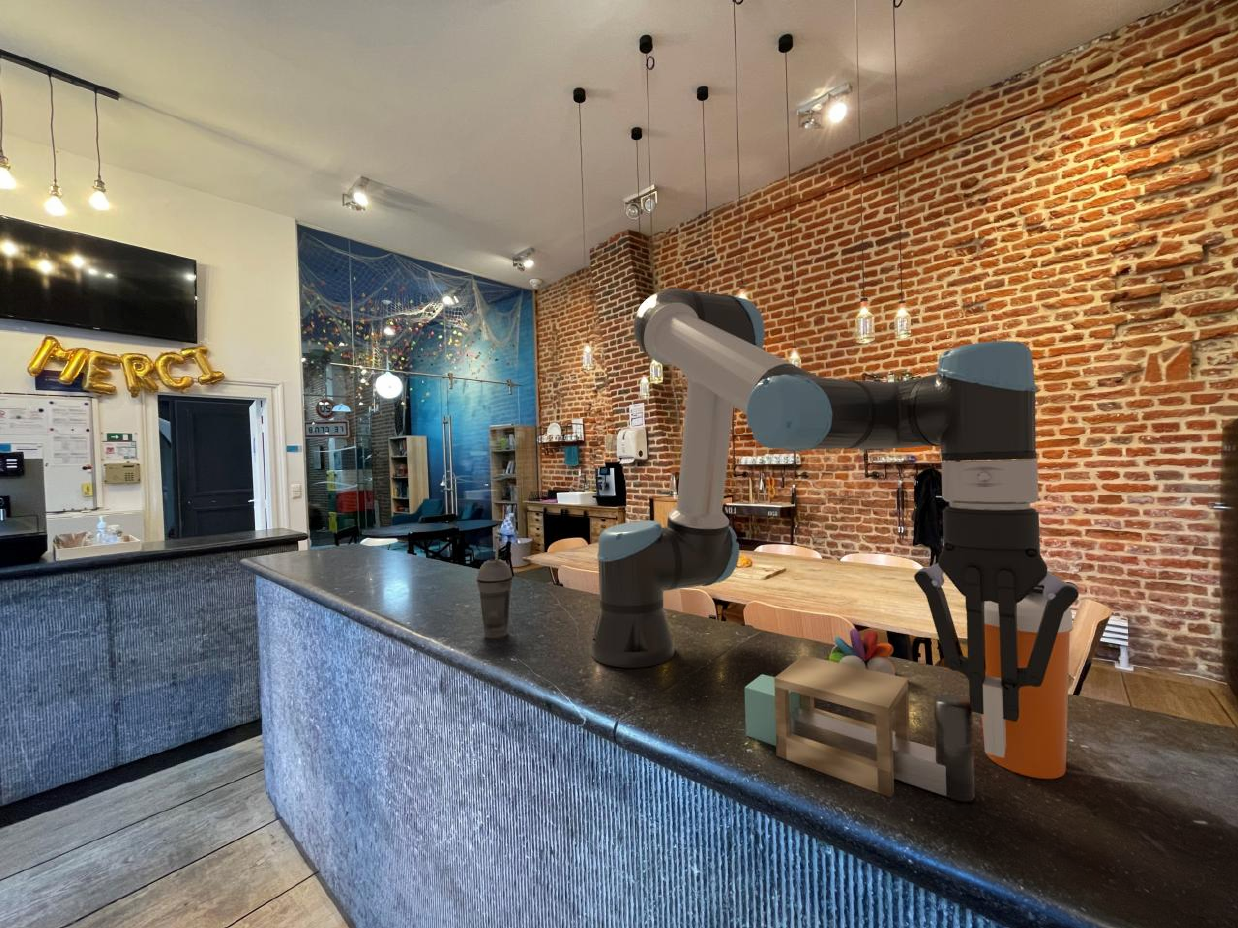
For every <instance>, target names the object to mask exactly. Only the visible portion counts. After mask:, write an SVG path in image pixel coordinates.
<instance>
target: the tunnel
mask: <svg viewBox="0 0 1238 928" xmlns="http://www.w3.org/2000/svg"><path fill="white" fill-rule="evenodd" d="M774 677H775V678H774V684H775V719H776V746H775V749H776V751H775V752H776V753H775V754H776V756H777V757H779V758H782V759H784V760H787V761H789V762H793V763H795V764H798V765H801V766H804V767H806V768H809V769H812V770H814V771H818V772H820V773H823V774H825V775H828V776H831V777H833V778H836V779H839V780H842V781H845V782H847V783H850V784H853V785H855V786H859V787H861V788H864V789H867V790H869V791H873V792H876V793H878V794H880V795H882V796H883V795H884V796H886V797H887V798H892V797H893V795H894V793H895V784H894V782H895V781H894V774H893V739H892V736H895V737H898V738H902V739H905V740H909V741H911V739H910V738H911V737H910V735H911V733H910V703H909V678H908V677H903V676H898V675H896V674H895V675H891V674H886V673H882V672H877V671H873V670H868V669H864V668H859V667H855V666H850V665H846V664H841V663H837V662H832V661H829V659H828V660H827V659H824V658H823V659H822V658H818V657H813V656H809V655H806V654H802V656H800V657H799V658H797V659H796V660H795V661H794V662H793V663H791V664H790V665H788V667H786V668H785V669H784V670H782V671H781V672H780V673H778V674H777V675H776V676H774ZM789 691H793V692H796V693H800V709H803V710H806V711H810V712H813V713H816V714H820V715H823V716H827V717H830V718H834V719H837V720H840V721H844V722H847V723H851V724H854V725H857V726H861V727H864V728H868V729H871V730H874V731H876V737H877V762H876V761H873V760H870V759H867V758H864V757H861V756H858V755H855V754H852V753H849V752H846V751H843V750H840V749H837V748H834V747H831V746H828V745H825V744H822V743H819V742H816V741H813V740H810V739H806V738H803V737H800V736H797V735H794V734H791V733H790V711H789ZM814 699H819V700H823V701H825V702H830V703H833V704H837V705H841V706H843V707H848V708H851V709H854V710H855V709H856V710H858V711H863V712H866V713H870V714H873V715H875V725H874V724H872V723H868V722H865V721H861V720H857V719H854V718H851V717H846V716H843V715H840V714H837V713H832V712H829V711H825V710H823V709H819V708H815V700H814ZM893 712H894V728H895V729H894V730H893V715H892V714H893Z"/></svg>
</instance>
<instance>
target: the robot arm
mask: <svg viewBox="0 0 1238 928" xmlns="http://www.w3.org/2000/svg"><path fill="white" fill-rule="evenodd" d="M765 330H766V329H765V323H764V319H763V316H762V314H761V311H760V310H758V307H757V306H756V304H755V303H753V302H752V301H751V300H749V299H748V298H747V299H746V298H742V297H737V296H735V295H733V294H725V293H724V294H722V293H714V292H713V293H712V292H705V291H697V290H689V289H684V288H669V289H664V290H660V291H658V292H655V293H653V294H651V295H650V296H649V297H648V298H647V299H645V301H643V303H641V305H640V306H639V308H638V310H637V311H636V315H635V316H634V322H633V333H634V339H635V341H636V343H637V345H638V348H640V350H641V351H642V352H643V353H644V354H645V355H647V356H648V357H649V358H650V359H652V360H653V361H655V362H656V363H658V364H661V365H666V366H671V365H672V366H674V367H675V368H677V369H679V371H680V372H681V373H682V374H683V376H684V377H685V378H686V380H687V386H686V387H687V389H686V399H685V401H686V402H685V411H684V412H685V413H684V422H683V431H682V432H683V435H682V445H681V453H680V455H681V457H680V464H679V465H680V466H679V467H680V468H679V477H678V478H679V479H678V487H677V488H678V489H677V490H678V491H677V499H676V506H675V507H674V508H673V509H672V510H670V511H669V512H668V515H667V521H666V522H667V523H666V527H663V526H662V525H661V523H660V522H659V521H656V520H640V521H639V520H638V521H631V522H630V521H629V522H625V523H620V524H617V525H612V526H610V527H607V528H606V529H604V530H603V531H602V532H601V533H600V535H599V537H598V552H597V560H598V562H597V563H598V585H599V586H598V587H599V589H598V590H599V613H598V617H597V620H596V622H595V623H596V624H595V628H594V632H593V633H594V634H593V635H592V638H591V643H590V649H591V650H590V651H591V652H590V653H591V657H592V658H593V659H594V660H595V661H597V662H598V663H601V664H603V665H606V666H610V667H617V668H624V669H625V668H627V669H628V668H632V669H636V668H637V669H638V668H646V667H651V666H657V665H660V664H663V663H665V662H667V661H669V660H670V659H672V658H673V656H675V655H674V654H675V638H674V636H673V634H672V632H671V628H670V625H669V622H668V619H667V616H666V612H665V607H664V591H672V590H680V589H687V588H693V587H701V586H702V587H707V586H711V585H714V584H717V583H723V582H724V581H726V580H727V579H729V578H730V577H731V576H732V575H733V573H734V572H735V570H736V568H737V566H738V563H739V558H740V544H739V542H738V541H737V539H738V536H737V534H736V532H735V530H734V529H733V528H732V526H730V519H729V518H728V517H727V516H726V515H725V513H724V512H723V507H724V499H725V498H724V497H725V489H726V479H727V468H728V460H729V452H730V441H731V433H732V425H733V424H732V423H733V417H734V416H733V415H734V408H736V409H737V410H739V411H741V412H742V413H744V414H745V415H746V417H745V418H746V423H747V427H748V429H750V430H751V432H752V437H753V438H754V440H755V441H756V442H757V443H758V444H759V445H761V446H762V447H763V446H764V447H765V448H768V449H775V450H784V451H788V452H803V451H807V450H838V449H839V450H842V449H843V450H850V449H851V450H864V451H865V450H866V451H874V450H876V451H883V450H887V449H903V448H905V449H907V448H918V447H919V448H920V447H940V454H941V457H940V458H941V490H942V491H941V493H942V495H941V497H942V500H944V501H945V502H947V503H948V502H949V504H948V506H945V507H944V509H942V526H943V527H942V529H943V530H942V531H943V547H942V551H941V553H940V554H939V556H938V560H937V563H934V564H933V565H931V566H929V567H927V568H926V567H923V568H920V569H919V570H918V571H917V572H916V573H915V574H914V576H913V578H914V579H913V580H914V581H915V583H916V584H917V585H918V587H919V589H921V591H922V592H923V593H924V594H925V596H926V600H927V603H928V607H929V611H930V614H931V618H932V619H933V623H934V627H935V629H936V631H935V632H936V633H937V636H938V640H939V644H940V647H941V650H942V651H941V652H942V654H943V657H944V660H945V664H946V666H947V668H948V669H949V670H951V671H954V672H958V673H961V674H962V675H964V676H965V677H966V678H967V680H968V683H969V684H968V687H969V688H968V690H969V692H968V693H969V702H970V708H971V710H972V713H977V714H979V715H982V714H984V734H983V743H985V746H984V753H985V754H986V753H988V754H992V755H995V756H999V757H1002V758H1004V754H1005V748H1006V730H1005V720H1009V721H1013V722H1017V720H1018V718H1019V712H1020V711H1019V689H1020V688H1021V687H1023V686H1033V687H1039V686H1041V685H1042V682H1043V679H1044V676H1045V673H1046V669H1047V666H1048V663H1049V660H1050V656H1051V653H1052V650H1053V646H1054V643H1055V640H1056V637H1057V633H1058V630H1059V627H1060V624H1061V620H1062V617H1063V614H1064V612H1065V611H1066V610H1067V609H1068V608H1069V609H1070V607H1071V606H1072V605H1073V604H1074V603H1075V602H1076V601H1077V600H1078V598H1079V589H1078V586H1077V585H1076V584H1075V583H1073V582H1072V581H1071V582H1070V581H1064V580H1063V579H1061V578H1059V577H1058V576H1056V575H1054V574H1053V573H1051V572H1049V571H1048V565H1047V563H1046V562H1045V560H1044V559H1043V557H1042V555H1041V548H1040V547H1041V545H1040V543H1041V541H1040V540H1041V539H1040V515H1039V514H1040V512H1039V511H1037V509H1035V508H1033V507H1031V504H1035V503H1036V502H1037V501H1039V473H1038V471H1039V470H1038V469H1039V468H1038V459H1037V458H1038V457H1037V449H1036V448H1037V447H1036V443H1037V442H1036V437H1037V435H1036V392H1038V386H1037V385H1036V380H1035V370H1034V364H1033V363H1034V361H1033V354H1032V351H1031V348H1030V347H1029V346H1027V345H1026V344H1024V343H1022V342H1020V341H1013V340H996V341H985V342H983V341H982V342H977V343H970V344H964V345H960V346H957V347H954V348H952V349H948V350H946V351H943V352H942V353H941V354H940V356H939V358H938V364H937V368H936V373H934V374H932V375H931V374H930V375H928V376H925V377H918V378H911V379H906V380H900V381H874V380H857V379H854V380H853V379H847V378H845V379H843V378H842V379H841V378H830V377H824V376H823V377H822V376H818V375H817V374H814V373H813V372H809V371H808V370H806V369H804V368H802V367H799V366H797V365H795V364H794V363H791V362H790V361H789V360H786V359H783V358H782V357H779V356H777V355H775V354H773V353H771V352H769V351H767V350H765V349H763V348H764V343H765V339H766V338H765V332H766V331H765ZM944 574H945V576H946V577H947V578H948V579H949V580H950V582H951V583H952V584H953V586H954V587H955V588H956V590H958V591H959V593H960V594H961V595H962V596H964V597H965V609H966V610H965V611H966V634H967V635H966V639H967V641H966V643H967V657H966V656H964V654H963V649H962V647H961V643H960V640H959V637H958V633H957V630H956V627H955V624H954V620H953V618H952V614H951V610H950V608H949V604H948V601H947V597H946V594H945V591H944V589H943V585H944V583H945V578H944ZM1039 583H1043V585H1044V590H1043V596H1044V597H1045V598H1046V599H1047V600H1048V601H1047V603H1046V606H1045V609H1044V612H1043V616H1042V619H1041V622H1040V626H1039V629H1038V632H1037V636H1036V639H1035V642H1034V646H1033V649H1032V652H1031V656H1030V659H1029V662H1028V666H1027V667H1025V668H1019V667H1018V635H1017V603H1019V602H1021V601H1022V600H1023V599H1024V598H1025V597H1026V596H1027V595H1028V594H1029V593H1030V592H1031V591H1032V590H1033V589H1034V588H1035V587H1036V586H1037V585H1038V584H1039ZM986 601H991V602H994V603H997V604H998V607H999V624H1000V656H1001V678H997V677H992V676H987V675H986V676H985V671H986V657H985V619H984V604H985V602H986Z"/></svg>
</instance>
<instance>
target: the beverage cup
mask: <svg viewBox="0 0 1238 928" xmlns="http://www.w3.org/2000/svg"><path fill="white" fill-rule="evenodd" d="M499 541H500V538H499V537H496V539H495V555H494V557H495V558H490V559H487V560H486V561H485V562H483V563H482V564H481V566H480V568H479V569H478V572H477V578H476V583H477V588H478V591H479V598H480V606H481V607H480V608H481V609H480V610H481V617H482V624H483V625H482V626H483V630H484V631H483V632H484V637H485V638H487V639H500V638H504V637H506V636H507V635H508V629H509V617H510V615H509V614H510V602H511V601H510V600H511V599H510V598H511V597H510V596H511V588H512V582H513V581H512V580H513V578H514V577H513V574H512V570H511V567H510V566H509V564H508V563H507V562H506V561H504V560H502V559H500V558H499V547H500V545H499Z"/></svg>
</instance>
